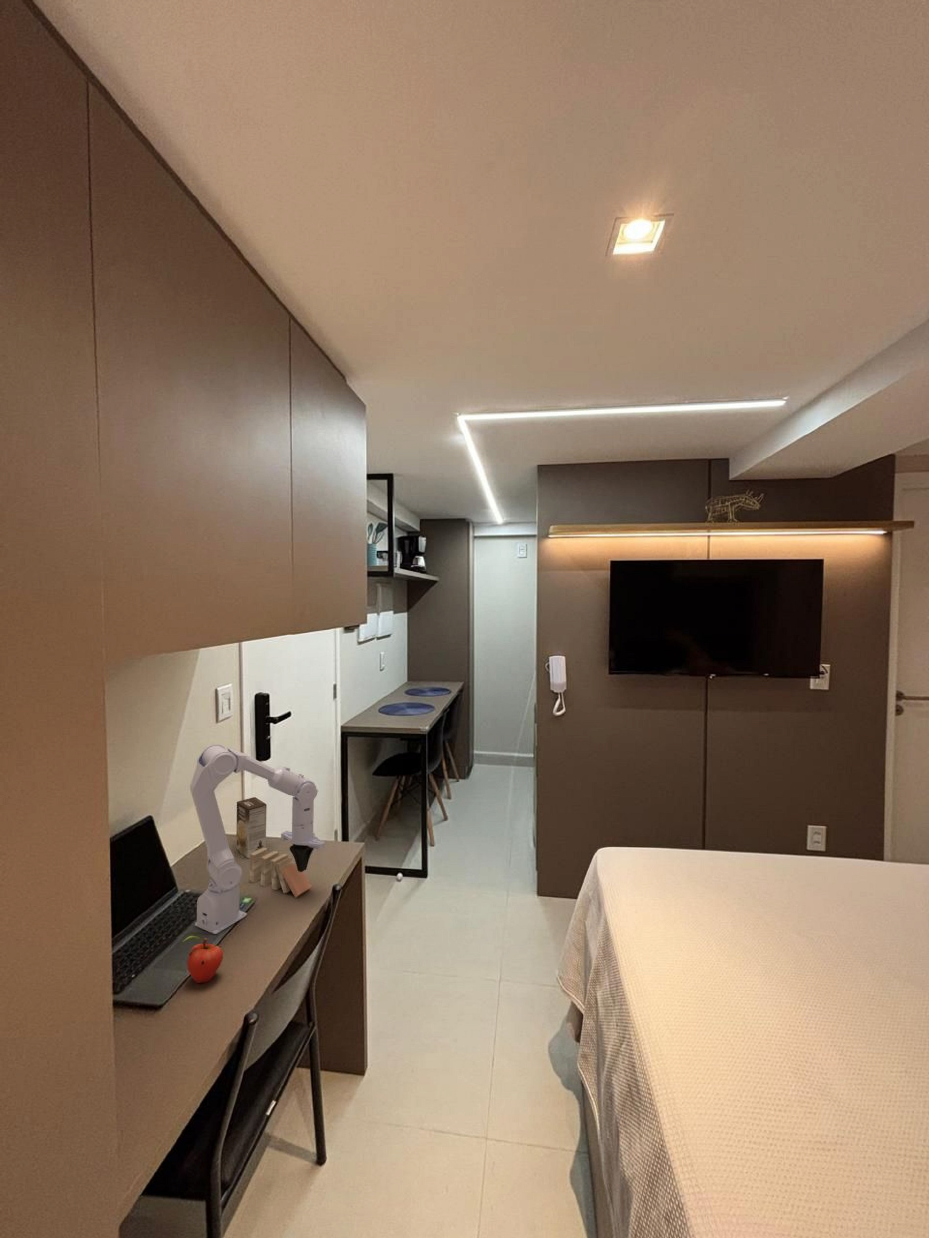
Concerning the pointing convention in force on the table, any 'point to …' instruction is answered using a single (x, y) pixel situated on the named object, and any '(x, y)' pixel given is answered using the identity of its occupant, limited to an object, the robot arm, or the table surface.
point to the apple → (204, 960)
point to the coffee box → (250, 826)
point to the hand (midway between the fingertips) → (302, 870)
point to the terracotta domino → (296, 880)
